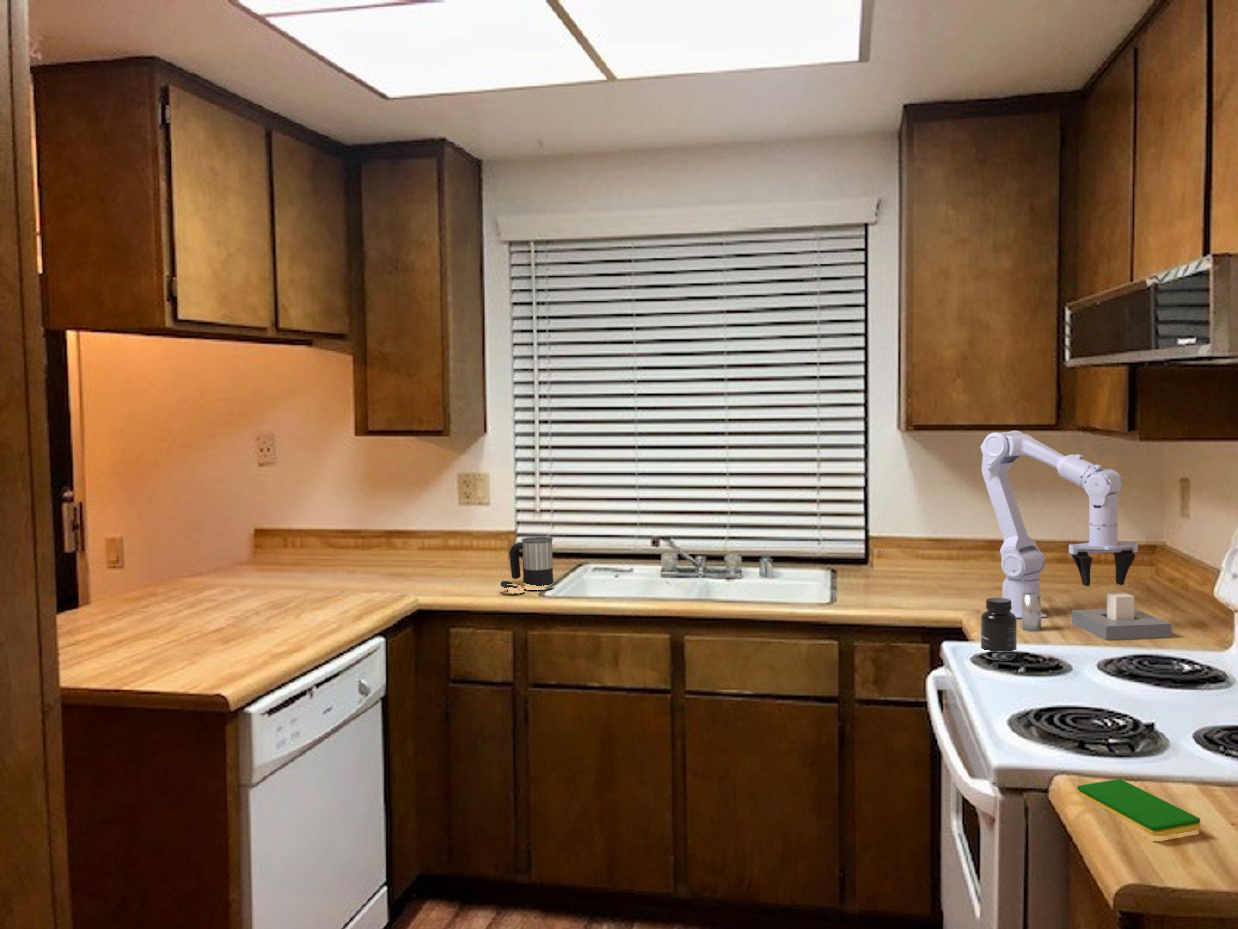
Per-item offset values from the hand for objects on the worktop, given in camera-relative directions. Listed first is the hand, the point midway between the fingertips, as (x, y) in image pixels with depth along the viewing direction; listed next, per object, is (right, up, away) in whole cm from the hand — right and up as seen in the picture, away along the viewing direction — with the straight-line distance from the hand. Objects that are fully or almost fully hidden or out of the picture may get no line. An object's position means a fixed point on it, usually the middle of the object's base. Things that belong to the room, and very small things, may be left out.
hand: (1103, 584), depth 227 cm
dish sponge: (-41, -19, -96) cm, 106 cm away
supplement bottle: (-31, -13, -20) cm, 39 cm away
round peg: (-15, -10, +2) cm, 18 cm away
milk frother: (-134, -10, +69) cm, 151 cm away
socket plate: (+3, -10, -2) cm, 10 cm away
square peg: (+3, -10, -2) cm, 11 cm away
